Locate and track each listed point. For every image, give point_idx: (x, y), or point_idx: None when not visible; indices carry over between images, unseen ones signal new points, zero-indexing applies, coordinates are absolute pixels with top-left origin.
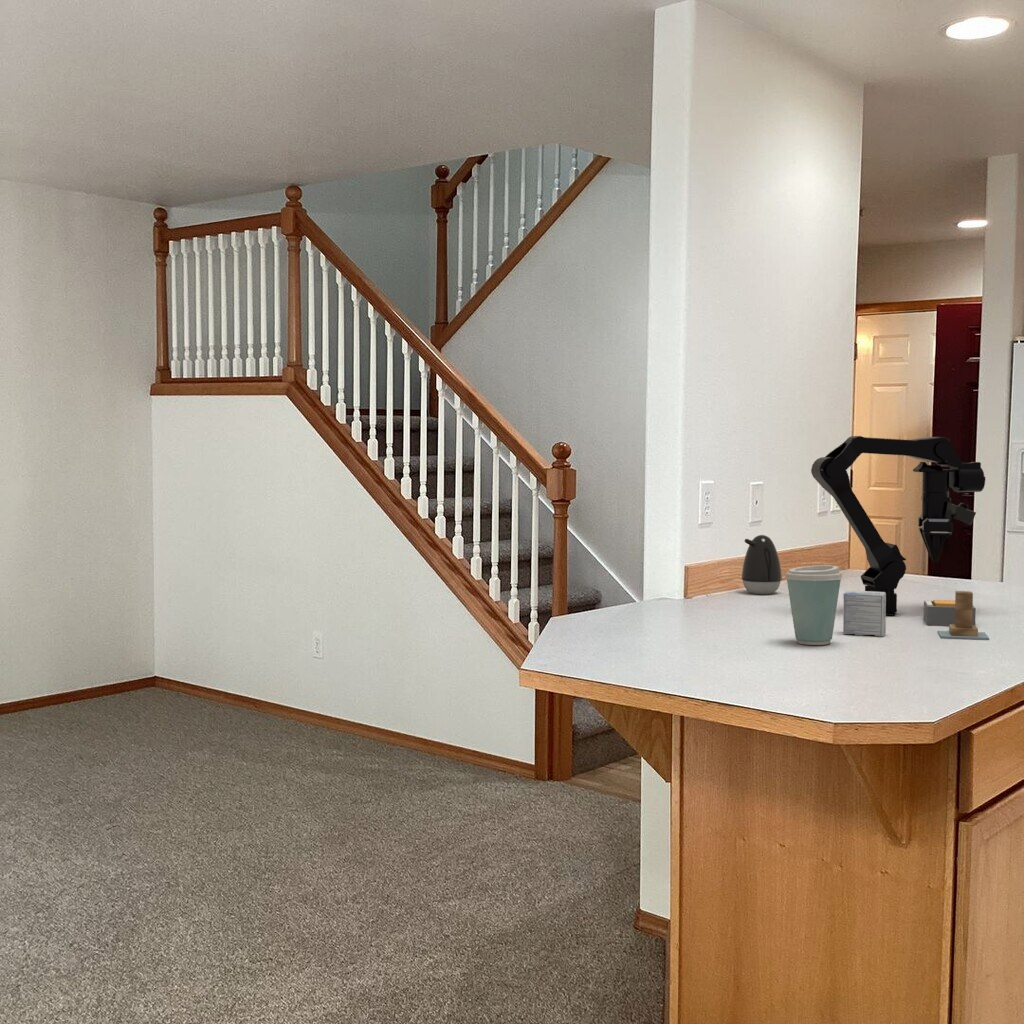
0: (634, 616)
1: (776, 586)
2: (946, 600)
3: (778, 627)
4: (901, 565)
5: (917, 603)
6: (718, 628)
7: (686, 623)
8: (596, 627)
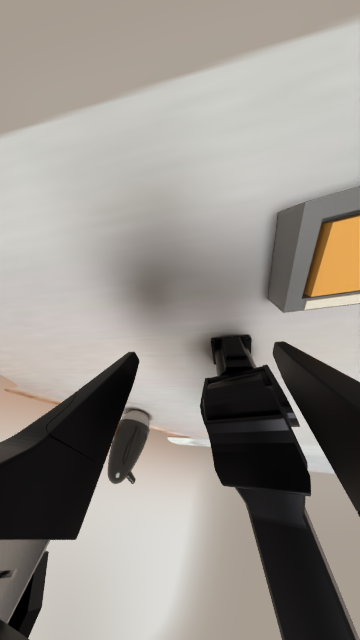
0: None
1: (138, 416)
2: (331, 266)
3: None
4: (290, 405)
5: (111, 319)
6: None
7: None
8: None
